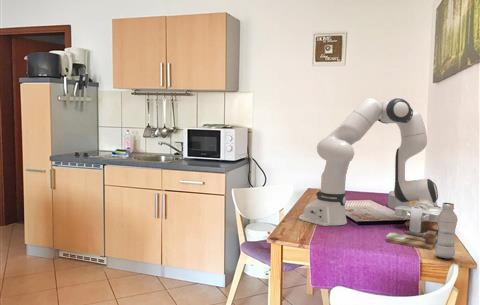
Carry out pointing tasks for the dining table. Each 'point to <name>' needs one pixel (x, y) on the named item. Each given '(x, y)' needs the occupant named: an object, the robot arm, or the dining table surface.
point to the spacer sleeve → (415, 219)
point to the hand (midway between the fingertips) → (415, 217)
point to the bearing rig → (414, 239)
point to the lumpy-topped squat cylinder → (395, 201)
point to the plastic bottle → (446, 232)
